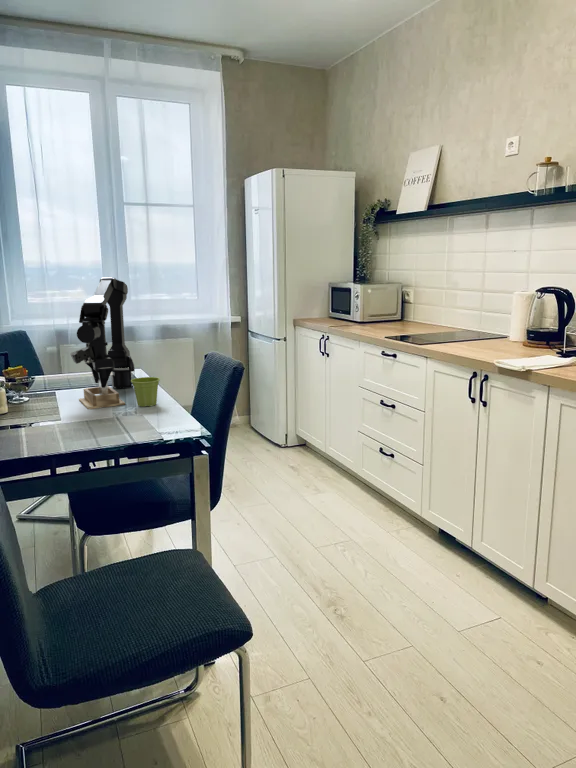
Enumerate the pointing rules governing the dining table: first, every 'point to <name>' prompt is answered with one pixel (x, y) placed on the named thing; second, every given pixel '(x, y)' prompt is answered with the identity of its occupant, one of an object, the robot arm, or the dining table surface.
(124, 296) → the robot arm
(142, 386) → the plant pot
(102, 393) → the bracket
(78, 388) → the dining table surface
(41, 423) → the dining table surface
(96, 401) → the light wood shallow box
